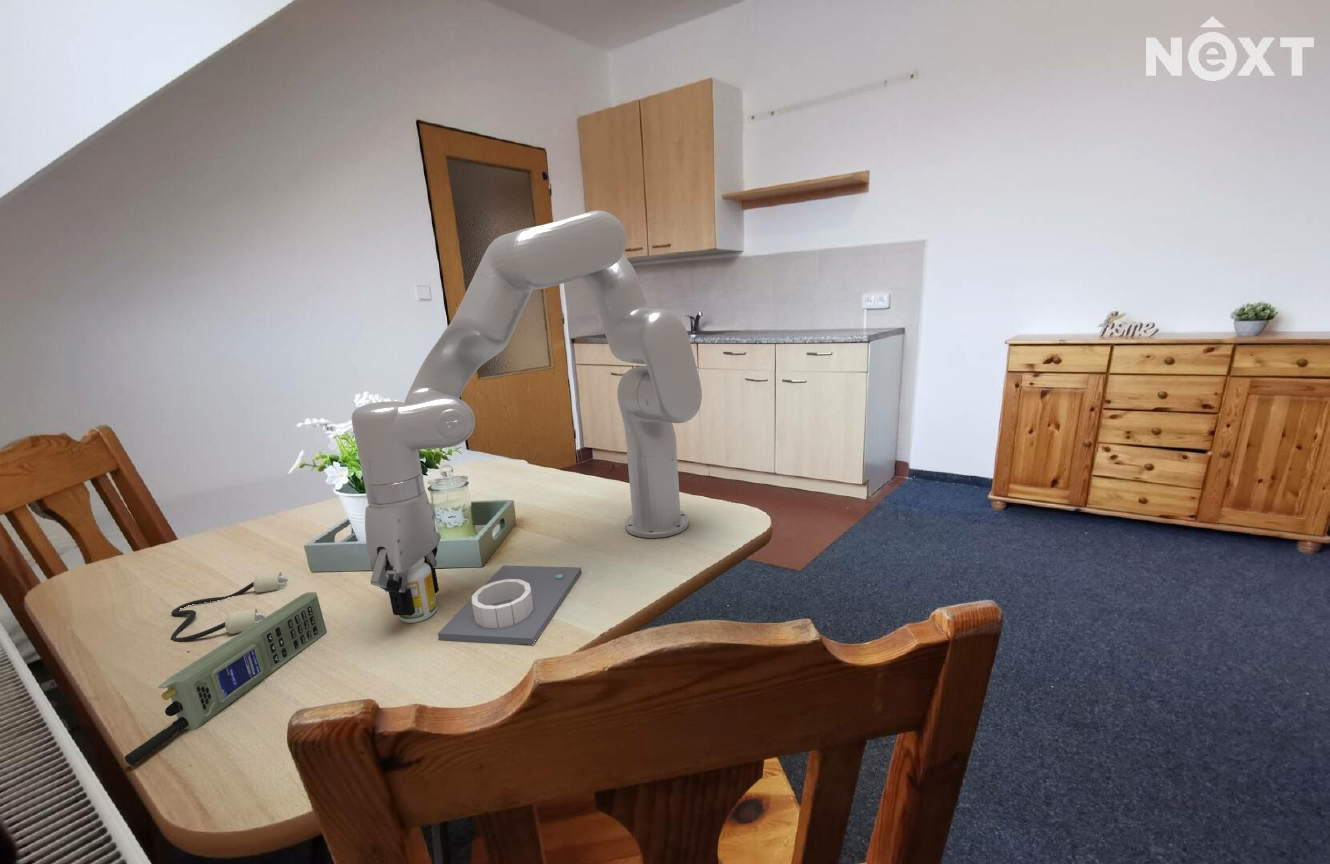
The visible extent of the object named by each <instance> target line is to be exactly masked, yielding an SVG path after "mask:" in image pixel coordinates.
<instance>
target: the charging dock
mask: <svg viewBox="0 0 1330 864" xmlns="http://www.w3.org/2000/svg"><path fill="white" fill-rule="evenodd" d="M581 575H582V567H571V566H569V567H567V566H535V565H532V566H531V565H507V564H504V565H502V566H501V567H500V568H499V569H498V570H497V571H496V572H495V573H494V574H493V575H492V577H490V579H489V580H488V581H486V583H485V584H484V585H483V586H481V587H479V588H478V589H477V590H476V591H475V592H474V593H473V594H472V596H471V598H470V599H469V600H468V602H466V604H464V605H463V607H461V608H460V609H459V611H458V612H457V613H456V614H455V615H454V616H453V617H452V618H451V619H449V621H448V622H447V623H446V624H445V625H444V626H443V627H442V628H441V629H440V630H439V631H438V632H437V637H438V641H451V642H453V641H454V642H469V643H472V642H473V643H488V644H491V643H492V644H502V645H503V644H504V643H505V644H506V645H507V644H508V645H520V644H534V642H535V640H537V641H538V639H539V638H538V636H539V637H540V636H541V635H542V633H543V632H544V630H545V629H546V628H547V626H548V624H549V623H550V621H551V620H552V618H553V617H554V616H555V613H556V612H557V610H558V609H559V608H560V606H561V605H562V603H563V602H564V600H565V599H566V597H567V596H568V595H569V592H570V591H571V590H572V588H573V587H574V586H575V583H576V582H577V581H578V579H579V578H580V576H581ZM546 625H547V626H546ZM544 628H545V629H544ZM541 632H542V633H541ZM540 634H541V635H540ZM537 638H538V639H537ZM516 643H517V644H516ZM535 643H536V642H535ZM505 644H504V645H505ZM534 645H535V644H534Z"/></svg>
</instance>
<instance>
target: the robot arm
mask: <svg viewBox="0 0 1330 864" xmlns="http://www.w3.org/2000/svg"><path fill="white" fill-rule="evenodd" d="M626 247H627V234H626V230H625V228H624V226H623V224H622V222H620V220H619V219H618V218H617V217H616V216H615V215H613V214H611V213H610V212H607V211H604V210H599V209H598V210H597V209H596V210H591V211H588V212H584V213H580V214H577V215H573V216H568V217H566V218H563V219H560V220H557V221H556V220H555V221H553V222H549V223H545V224H541V225H536V226H535V225H534V226H531V227H527V228H526V227H525V228H522V229H518V230H515V231H512V232H510V233H506V234H502V235H500V236H498V237H497V238H495V239H494V240H493V241H491V243H490V244H489V246H488V247H487V248H486V250H485V252H484V254H483V255H482V257H481V260H480V262H479V264H478V266H477V269H476V270H475V272H474V275H473V277H472V279H471V281H470V283H469V285H468V287H467V290H466V291H465V294H464V295H463V298H462V300H461V302H460V304H459V306H458V309H457V310H456V312H455V314H454V316H453V318H452V320H451V321H450V323H449V324H448V325H447V327H446V328H445V329H444V331H443V332H442V334H441V336H440V337H439V339H438V340H437V341H436V343H435V344H434V346H433V347H432V348H431V350H430V351H429V352H428V354H427V356H426V357H425V359H424V361H423V362H422V364H421V366H420V368H419V370H418V372H417V374H416V376H415V378H414V380H413V383H411V386H410V388H409V390H408V393H407V395H406V396H405V397H406V398H405V399H404V402H403V401H398V400H397V401H395V400H393V401H392V400H391V401H380V402H374V403H373V402H372V403H368V404H364V405H362V406H358V407H357V408H356V409H354V410H353V412H352V414H351V426H352V429H353V434H354V439H355V445H356V449H357V454H358V458H359V463H360V464H359V465H360V470H361V475H362V479H363V483H364V489H365V494H366V499H367V504H368V505H367V506H365V511H364V512H365V513H364V527H365V528H364V530H365V533H364V534H365V541H366V549H367V557H368V562H369V567H370V571H371V572H372V573H371V577H370V578H371V579H370V582H369V583H370V584H371V586H375V587H378V588H380V589H381V590H384V592H385V593H388V596H389V599H390V605H391V611H392V614H393V615H394V616H399V615H405V616H412V615H413V614H414V613H415V609H414V604H413V599H412V593H411V589H407V573H408V569H409V568H410V567H412V566H413V565H414V564H416V563H417V562H418V561H419V560H421V559H422V558H423V557H424V558H425V560H424V563H426V564H428V565H429V566H430V568H431V572H432V578H433V584H434V591H435V594H437V593H438V592H439V590H440V589H439V588H440V587H439V583H438V577H437V571H436V567H437V565H438V562H437V561H438V560H437V559H436V558H437V554H438V549H439V548H438V547H439V544H440V542H441V541H440V540H441V538H442V536H441V534H440V533H439V532H437V527H436V521H435V517H434V513H433V509H432V505H431V503H430V499H429V497H428V494H427V491H426V489H425V488H426V487H425V483H424V477H423V470H422V465H421V459H420V454H419V450H429V449H430V450H432V449H433V450H434V449H445V448H446V449H447V448H451V447H456V446H459V445H460V444H462V443H464V442H465V441H467V440H468V439H469V438H470V437H471V435H472V434H473V432H474V430H475V427H476V419H475V418H476V417H475V414H474V411H473V410H472V407H470V406H469V405H468V403H466V402H465V401H463V399H461V396H462V394H463V391H464V389H465V388H466V386H467V385H468V383H469V381H470V380H471V378H472V376H473V375H474V374H475V373H476V372H477V370H479V368H480V367H482V366H483V365H484V364H486V363H488V361H490V360H492V359H493V358H494V357H496V356H498V354H500V353H501V352H502V351H503V350H504V349H505V348H507V346H508V344H509V343H510V341H511V340H512V339H511V338H512V337H513V333H514V332H515V329H516V328H517V325H518V324H519V321H520V318H521V316H522V315H523V312H524V309H525V308H526V306H527V305H528V302H529V299H530V297H531V295H532V293H533V291H535V290H536V291H537V290H542V289H548V288H552V287H556V286H558V285H562V284H565V283H568V282H572V281H574V280H578V279H580V280H581V281H582V282H583V283H584V284H585V285H586V287H587V289H588V290H589V292H590V293H591V295H592V298H593V300H594V301H593V302H595V305H596V308H597V312H598V314H599V318H600V322H601V324H602V328H603V332H604V334H605V337H606V340H607V344H608V347H609V350H610V352H611V353H612V355H613V356H614V358H616V359H617V360H619V361H620V362H625V363H630V364H638V366H635V367H631V368H630V369H629V370H627V371H626V372H624V374H623V375H622V376H621V378H620V379H619V382H618V386H617V390H616V391H617V392H616V393H617V401H618V407H619V410H620V414H621V417H622V421H623V426H624V432H625V442H626V443H625V444H626V455H627V456H626V457H627V466H628V479H629V491H630V492H629V493H630V501H631V502H630V503H631V515H629V517H627V518H626V519H625V522H624V524H625V530H626V532H628V533H629V534H631V535H633V536H635V537H638V538H646V539H656V538H658V539H661V538H667V537H670V536H675V535H677V534H679V533H682V532H683V531H685V530H686V529H687V528H688V527H689V525H690V524H689V523H690V519H689V516H688V514H686V513H685V512H683V511H682V510H681V500H680V498H681V497H680V487H679V486H680V485H679V484H680V482H679V470H678V469H679V466H678V452H677V451H678V450H677V449H678V448H677V436H676V431H675V428H674V424H682V423H687V422H689V421H690V420H692V419H693V418H694V417H695V416H696V415H697V414H698V412H699V410H700V408H701V404H702V396H703V395H702V394H703V393H702V391H703V390H702V385H701V379H700V376H699V371H698V368H697V362H696V359H695V355H694V352H693V348H692V344H691V340H690V337H689V333H688V330H687V328H686V326H685V324H684V323H683V321H682V320H681V319H680V318H679V316H678V315H676V314H675V313H674V312H672V311H671V310H668V309H665V308H649V305H648V303H647V301H646V297H645V294H644V291H643V287H642V285H641V283H640V280H639V277H638V274H637V273H636V270H635V269H634V266H633V265H632V264H631V262H630V261H629V260H628V258H627V257H626V256H625V255H624V253H625V251H626ZM639 365H640V366H639ZM394 574H399V582H397V581H395V580H394Z"/></svg>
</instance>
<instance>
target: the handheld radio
mask: <svg viewBox="0 0 1330 864" xmlns="http://www.w3.org/2000/svg"><path fill="white" fill-rule="evenodd" d="M320 605H321V604H320V601H319V597H318V594H317V592H316V591H312V592H311V591H308V592H305V593H302V594H301V595H299V596H297V597H296V598H295V599H293V600H291V601H289V602H288V603H286V604H285V605H283V606H282V607H280V608H279V609H277V610H275V611H273V612H272V613H271V614H269V615H267V616H265V618H264V619H262V620H259V622H257V623H256V624H254V625H253V626H251V627H249V628H248V629H246V630H245V631H243V632H240V633H237V634H236V635H234V637H233V636H232V637H231V638H230V639H229V640H227V641H225V642H224V643H223V644H220V645H219V646H218V647H216V648H214V649H213V650H211V651H210V652H208V653H206V654H204V655H203V656H201V657H199V658H198V659H196V660H195V661H193V662H192V663H190V664H189V665H187V666H185V667H184V668H182V669H180V670H179V671H178V672H176V673H174V674H173V675H171V676H169V677H167V678H166V680H165V681H163V682H162V683H160V684H159V685H158V686H157V688H158V689H167V690H166V691H164V692H162V694H161V699H162V700H163V701H169V700H171V703H170V705H168V706H166V708H165V709H164V713H165V715H166V716H168V717H174V716H177V719H176V720H174V721H173V722H172V723H171V725H169V726H168V727H166V728H164V729H162V730H161V731H160V732H158V733H157V734H155V735H153V736H152V737H151V738H150V739H148V740H146V741H145V742H143V743H142V744H141V745H139V746H137V747H136V748H135V749H134V750H132V751H130V752H129V753H127V754H126V755H125V756H124V761H125V762H126V763H127V764H128V765H129V766H134V765H136V764H137V763H138V762H139V763H140V761H141V760H143V759H144V758H146V757H147V756H148V755H150V754H152V752H154V751H156V750H157V749H158V748H160V747H161V746H162V745H163V744H165V743H166V742H168V741H169V740H171V739H172V738H173V737H174V736H175V734H177V733H180V732H182V731H183V730H188V731H194V730H197V729H198V728H200V727H201V726H202V725H203V724H205V723H206V722H208V721H210V719H212V718H213V717H214V716H216V715H217V714H219V713H220V712H221V711H223V710H224V709H226V708H227V707H228V706H229V705H231V704H232V703H234V702H235V701H236V700H237V699H239V698H240V697H241V696H243V695H244V694H246V693H248V692H249V691H250V690H251V689H253V688H255V686H257V685H258V684H260V683H261V682H262V681H264V680H265V679H266V678H268V677H269V676H270V675H272V674H273V673H274V672H275V671H277V670H278V669H280V668H281V667H283V666H284V665H285V664H286V663H288V662H289V661H291V660H292V659H293V658H295V657H296V656H297V655H299V654H300V653H302V652H303V651H304V650H305V649H306V648H308V647H309V646H311V645H313V644H314V643H315V642H317V641H318V640H319V639H321V638H322V637H323V636H324V635H326V634H327V633H328V632H327V628H326V624H325V620H324V615H323V612H322V608H321V606H320Z"/></svg>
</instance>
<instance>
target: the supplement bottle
mask: <svg viewBox="0 0 1330 864" xmlns="http://www.w3.org/2000/svg"><path fill="white" fill-rule="evenodd" d="M424 560H425V558H424V557H423V558H422V559H421V560H419V561H418V562H417V563H416V564H414V565H413V566H412V567H410V568H409V569H408V573H407V589H411V593H412V599H413V604H414V609H415V613H414V614H413V615H412V616H405V615H398V618H399V619H400V620H401V622H404V623H406V624H407V623H408V624H415V623H418V622H423V621H426V620H427V619H429V618H431V617H432V616H434V614H435V613H436V612H437V610H438V603H437V597H436V593H435V591H434V584H433V578H432V572H431V568H430V566H429V565H428V564H426V563H424ZM394 580H395V581H397V582H399V574H394Z"/></svg>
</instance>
